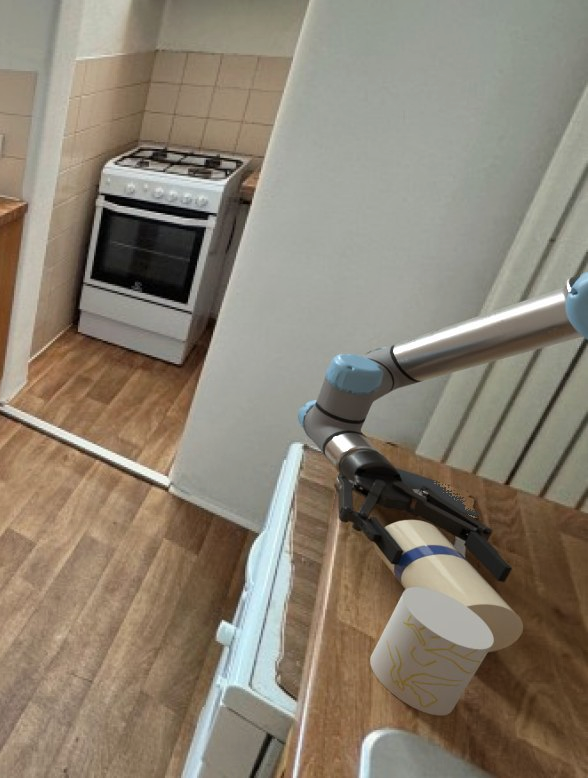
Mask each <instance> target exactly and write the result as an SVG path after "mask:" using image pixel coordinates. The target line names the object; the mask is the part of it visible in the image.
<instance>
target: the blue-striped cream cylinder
mask: <svg viewBox="0 0 588 778" xmlns="http://www.w3.org/2000/svg"><path fill="white" fill-rule="evenodd" d="M383 527H384V528H385V529H386V530H387V532H388V533H389V534H390V535H391V537H392V538H393V539H394V540H395V541H396V543H397V544H398V545H399V546H400V548H401V549H402V550H403V553H402V555H401V558H400V560H399V562H398V564H397V565H395V564H391V563H390V562H389V560H388V559H387V558H386V556H385V555H384V554H383V553H382V551H381V550H380V549H379V547H378V546H377V545H376V544H375V542H374V541H373V548H374V550H375V552H376V554H377V555H378V556H379V558H380V559H381V560H382V562H383V563H384V564H385V565H386V567H387V568H388V570H389V571H390V572H391V574H392V575H393V576H394V577H395V579H397V582H399V584H400V585H401V586H402V587H403V589H404V591H405V590H406V589H407V588H410V587H424V588H429V589H432V590H435V591H438V592H441V593H443V594H445V595H448V596H450V597H452V598H453V599H455V600H457V601H459V602H460V603H462V604H463V605H465V606H466V607H468V608H469V609H471V610H472V611H473V612H474V613H475V614H477V615H478V616H479V617H480V618H481V619H482V620H483V621H484V622H485V623H486V625H487V626H488V627H489V629H490V630H491V632H492V635H493V638H494V642H493V644H492V646H491V648H490V649H489V651H488V653H493V652H496V651H500V650H504V649H506V648H508V647H510V646H511V645H514V643H516V642H517V641H518V640H519V639H520V637H521V636H522V634H523V631H524V624H523V621H522V618H521V617H520V616H519V614H517V612H516V611H514V609H513V608H512V607H511V606H510V605H509V604H508V603H507V602H506V601H505V599H503V597H502V596H501V595H500V594H499V593H498V592H497V591H496V590H495V589H494V588H493V586H492V585H491V584H490V583H489V582H488V581H487V579H485V578H484V577H483V575H481V573H479V571H477V569H476V568H475V567H474V566H473V564H472V563H470V561H468V559H467V558H466V556H465V557H464V556H463V555H462V554H461V553H460V552H459V551H458V550H457V549H456V548H455V547H454V544H453V543H452V542H451V541H450V539H448V538H447V537H446V535H444V533H443V532H442V531H441V530H440V529H439V527H436V525H434V524H433V523H431V522H428V521H423V520H418V519H403V520H398V521H395V522H393V523H390V524H388V525H386V526H383Z"/></svg>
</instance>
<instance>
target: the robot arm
mask: <svg viewBox="0 0 588 778" xmlns="http://www.w3.org/2000/svg"><path fill="white" fill-rule="evenodd" d="M580 338H584V339H586V340H587V341H588V271H586V272H583V273H581V274H578V275H575V276H571V277H568V278H567V279H566V282H565V284H564V287H562V288H561V287H560V288H558V289H555V290H553V291H549V292H547V293H544V294H540V295H538V296H534V297H531V298H528V299H525V300H522V301H519V302H516V303H513V304H511V305H508V306H504V307H501V308H498V309H496V310H495V309H494V310H493V311H490V312H487V313H484V314H481V315H477V316H475V317H472V318H468V319H466V320H463V321H460V322H457V323H454V324H451V325H448V326H445V327H442V328H439V329H436V330H433V331H430V332H428V333H425V334H424V333H423V334H421V335H418V336H415V337H412V338H410V339H407V340H403V341H400V342H398V343H396V344H392V345H389V346H385V347H378V348H375V349H373V350H370V351H368V352H366V353H365V354H364V355H359V354H353V353H347V354H346V353H340V354H339V353H338V354H337V355H335V356H334V357H333V358H332V360H331V362H330V364H329V366H328V367H327V368H326V371H325V376H324V378H323V379H324V380H323V382H322V385H321V388H320V390H319V393H318V396H317V398H316V399H313V400H310V401H307V402H306V403H305V404H304V405H303V406H302V407H300V409H299V410H298V413H297V421H298V423H299V426H301V427H302V429H303V431H304V433H305V434H306V436H307V438H309V439H310V440H311V441H312V442H313V443H314V445H316V446H317V448H318V449H319V450H320V451H321V453H322V454H323V455H324V457H325V458H326V459H327V460H328V461H329V462H330V463H331V465H332V466H333V467H334V469H335V470H336V471H337V472H338V475H337V477H336V480H335V482H334V485H333V487H334V488H335V490H336V492H337V493H338V519H339V521H341V522H342V523H349V522H350V523H352V526H351V528H352V529H353V530H354V531H356V532H362V533H363V534H364V535H365V536H366V538H367V540H369V541H370V542H373V543H374V542H375V544H376V545H377V546H378V547H379V549H380V550H381V551H382V553H383V554H384V555H385V556H386V558H387V559H388V560H389V562H390V563H391V564H395V565H397V564H398V562H399V560H400V558H401V555H402V553H403V550H402V549H401V548H400V546H399V545H398V544H397V543H396V541H395V540H394V539H393V538H392V537H391V535H390V534H389V533H388V532H387V530H386V529H385V528H384V527H385V526H383V524H382V523H381V522H380V521H379V519H378V518H377V517H376V516H371V514H372V512H373V511H374V509H375V507H376V505H377V506H380V507H382V508H384V509H389V510H390V509H392V510H393V509H394V510H397V511H402V512H405V513H407V514H409V515H411V516H413V517H415V518H416V517H420V518H421V519H423V520H426V522H428V523H430V524H432V525H434V526H435V527H436V526H437V528H440V529H442V530H444V531H445V532H447V533H450V534H451V535H453V536H454V537H455V536H457V537H458V538H460V539H462V540H464V541H466V542H465V544H464V545H465V546H466V549H468V551H469V552H470V553H471V554H472V555H473V556H474V557H475V558H476V559H477V560H478V562H479V563H481V565H482V566H483V567H484V568H485V569H486V570H487V571H488V572H489V573H490V574H491V575H492V576H493V577H494V578H495V580H496V581H498V582H502V583H505V581H506V580H507V578H508V576H509V575H510V573H511V571H512V570H513V567H512V566H511V565H510V564H508V562H506V561H505V559H504V558H503V557H502V556H501V555H500V552H499V551H498V550H497V549H496V548H495V547H494V546H493V544H491V542H490V541H489V539H490V537H491V536H492V535H493V532H494V531H493V530H492V529H491V528H490V527H489V526H487V525H485V524H484V523H482V522H481V521H479V520H478V519H475V518H473V517H471V516H469V515H468V514H466V513H465V512H463V511H462V510H460V509H458V508H457V507H455V506H454V505H452V504H450V503H449V502H447V501H446V500H444V499H442V498H441V497H439V496H438V495H437V494H436V493H434V492H433V491H432V490H431V489H430V488H429V487H426V486H421V488H420V490H419V489H412V488H411V487H409V486H407V485H406V484H405V483H403V481H402V479H401V477H400V474H399V472H398V470H397V469H396V468H397V467H396V466H394V465H393V463H391V461H390V460H389V459H388V458H387V457H386V456H385V455H384V454H383V453H382V452H381V450H380V449H379V448H378V447H376V445H375V444H373V443H372V441H371V440H370V439H369V438H368V437H367V436H366V435H365V434H364V433H363V432H362V429H363V426H364V423H365V421H366V419H367V416H368V414H369V411H370V409H371V408H372V405H373V403H374V402H376V401H377V400H379V399H381V398H383V397H384V396H386V395H388V394H390V393H391V392H393V391H395V390H397V389H401V388H404V387H407V386H411V385H414V384H418V383H422V382H424V381H427V380H430V379H434V378H438V377H441V376H445V375H449V374H453V373H456V372H459V371H464V370H467V369H470V368H474V367H478V366H481V365H485V364H490V363H493V362H496V361H500V360H504V359H507V358H510V357H514V356H517V355H522V354H525V353H530V352H533V351H536V350H540V349H544V348H546V347H551V346H555V345H558V344H561V343H566V342H569V341H573V340H576V339H580ZM353 491H354V492H355V493H356V494H358V495H360V496H363V497H364V498H365V499H364V501H363V503H362V504H361V506H360V508H359V509H358V511H356V510H354V498H353ZM413 500H415V502H416V504H415V506H414V508H413V507H411V506H412V504H413ZM467 534H468V535H467Z"/></svg>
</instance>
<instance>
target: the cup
mask: <svg viewBox="0 0 588 778" xmlns="http://www.w3.org/2000/svg"><path fill="white" fill-rule="evenodd" d="M493 642H494V638H493V635H492V632H491V630H490V629H489V627H488V626H487V625H486V623H485V622H484V621H483V620H482V619H481V618H480V617H479V616H478V615H477V614H475V613H474V612H473V611H472V610H471V609H469V608H468V607H466V606H465V605H463V604H462V603H460V602H459V601H457V600H455V599H453V598H452V597H450V596H448V595H445V594H443V593H441V592H438V591H435V590H432V589H429V588H424V587H410V588H407V589H406V590H405V589H404V590H403V592H402V593H401V596H400V598H399V600H398V602H397V604H396V606H395V608H394V610H393V612H392V614H391V615H390V617H389V620H388V622H387V623H386V626H385V628H384V629H383V631H382V633H381V636H380V637H379V639H378V642H377V644H376V646H375V647H374V650H373V651H372V653H371V656H370V658H369V659H370V660H369V661H370V662H369V664H370V667H371V670H372V672H373V674H374V675H375V677H376V678H377V680H378V681H379V682H380V683H381V685H382V686H383V687H384V688H385V689H386V690H387V691H388V692H390V693H391V694H392V695H393V696H395V697H396V698H397V699H398V700H400V701H401V702H403V703H404V704H406V705H407V706H410V707H411V708H414V709H416V710H417V711H420V712H422V713H424V714H428V715H433V716H447V715H449V714H451V713H452V712H453V710H454V709H455V707H456V705H458V704H457V703H458V702H459V701H460V699H461V697H462V695H463V694H464V693H465V691H466V689H467V688H468V685H469V684H470V682H471V681H472V679H473V678H474V676H475V674H476V672H477V671H478V669H479V668H480V666H481V664H482V662H483V661H484V659H485V658H486V656H487V654H488V653H489V652H488V651H489V649H490V648H491V646H492V644H493Z"/></svg>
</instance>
